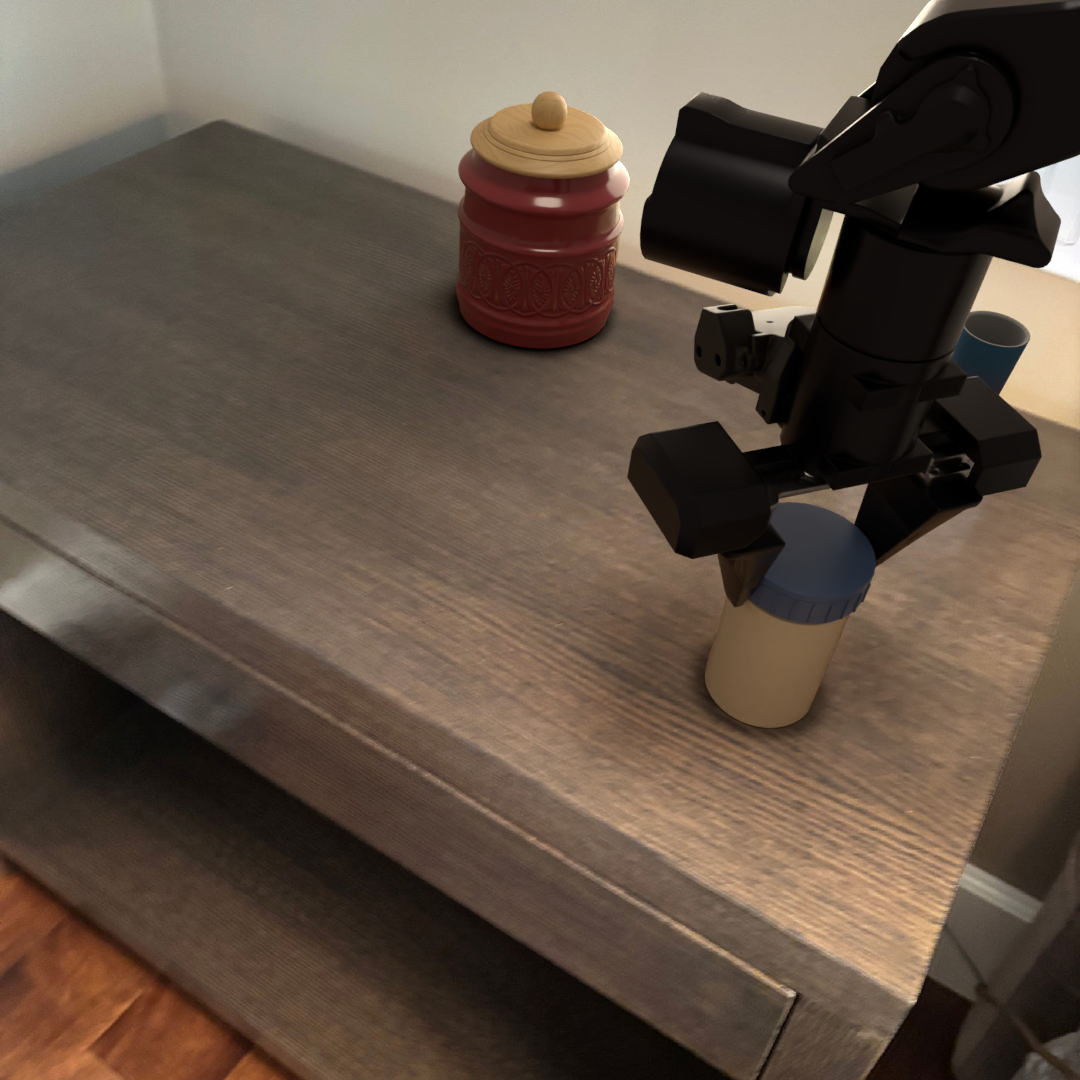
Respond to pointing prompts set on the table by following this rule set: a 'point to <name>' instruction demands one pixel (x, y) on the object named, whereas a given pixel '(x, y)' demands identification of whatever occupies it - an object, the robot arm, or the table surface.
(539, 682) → the table surface
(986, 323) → the cup
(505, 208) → the kitchen canister
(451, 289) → the table surface
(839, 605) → the lid
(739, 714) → the jar
